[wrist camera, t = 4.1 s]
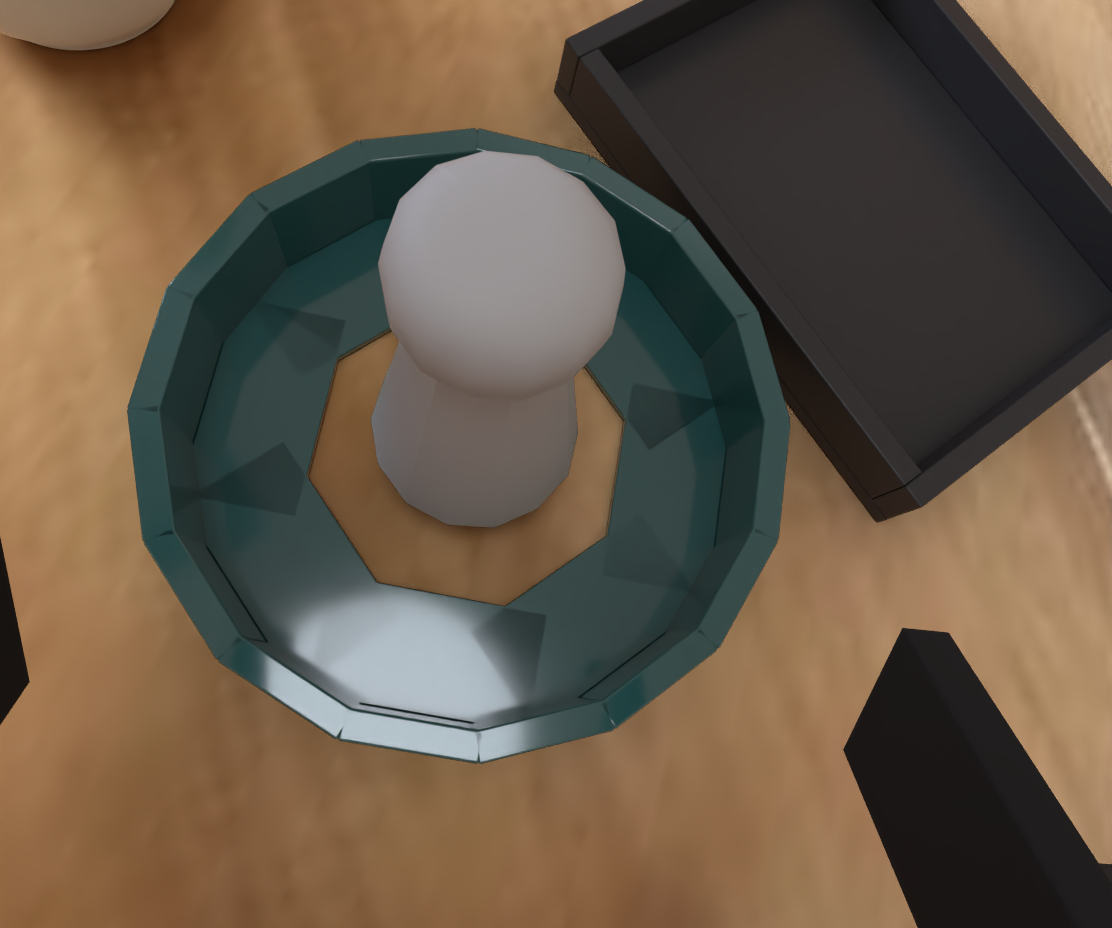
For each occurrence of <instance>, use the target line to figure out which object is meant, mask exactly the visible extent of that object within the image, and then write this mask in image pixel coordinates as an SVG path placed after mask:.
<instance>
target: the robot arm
mask: <svg viewBox="0 0 1112 928" xmlns="http://www.w3.org/2000/svg"><path fill="white" fill-rule="evenodd" d="M29 682H30V681H29V677H28V672H27V667H26V662H25V657H24V652H23V647H22V642H21V637H20V632H19V627H18V622H17V617H16V612H15V608H14V603H13V598H12V593H11V588H10V583H9V578H8V573H7V568H6V563H5V558H4V553H3V548H2V544H1V539H0V725H1V723H2V722H3V720H4V719H5V717H6V716H7V714H8V713H9V711H10V710H11V708H12V707H13V705H14V704H15V702H16V701H17V700H18V698H19V697H20V695H21V694H22V692H23V691H24V689H25V688H26V686H27V685H28V683H29ZM843 750H844V753H845V755H846V758H847V760H848V762H849V765H850V767H851V770H852V772H853V774H854V777H855V779H856V781H857V784H858V786H859V789H860V791H861V793H862V796H863V798H864V801H865V803H866V805H867V808H868V810H869V813H870V815H871V817H872V820H873V822H874V824H875V827H876V829H877V832H878V834H879V836H880V839H881V841H882V844H883V846H884V848H885V851H886V853H887V855H888V858H889V860H890V863H891V865H892V867H893V870H894V872H895V875H896V877H897V879H898V882H899V884H900V887H901V889H902V891H903V894H904V896H905V898H906V901H907V903H908V906H909V908H910V910H911V913H912V915H913V918H914V920H915V922H916V925H917V927H918V928H1112V864H1099V863H1098V862H1097V860H1096V859H1095V857H1094V856H1093V854H1092V853H1091V851H1090V849H1089V848H1088V846H1087V845H1086V843H1085V842H1084V840H1083V839H1082V837H1081V836H1080V834H1079V833H1078V831H1077V829H1076V828H1075V826H1074V825H1073V823H1072V822H1071V820H1070V819H1069V817H1068V816H1067V814H1066V813H1065V811H1064V809H1063V808H1062V806H1061V805H1060V803H1059V802H1058V800H1057V799H1056V797H1055V796H1054V794H1053V793H1052V791H1051V789H1050V788H1049V786H1048V785H1047V783H1046V782H1045V780H1044V779H1043V777H1042V776H1041V774H1040V773H1039V771H1038V769H1037V768H1036V766H1035V765H1034V763H1033V762H1032V760H1031V759H1030V757H1029V756H1028V754H1027V753H1026V751H1025V750H1024V748H1023V746H1022V745H1021V743H1020V742H1019V740H1018V739H1017V737H1016V736H1015V734H1014V733H1013V731H1012V730H1011V728H1010V726H1009V725H1008V723H1007V722H1006V720H1005V719H1004V717H1003V716H1002V714H1001V713H1000V711H999V710H998V708H997V706H996V705H995V703H994V702H993V700H992V699H991V697H990V696H989V694H988V693H987V691H986V690H985V688H984V686H983V685H982V683H981V682H980V680H979V679H978V677H977V676H976V674H975V673H974V671H973V670H972V668H971V666H970V665H969V663H968V662H967V660H966V659H965V657H964V656H963V654H962V653H961V651H960V650H959V648H958V646H957V645H956V643H955V642H954V640H953V639H952V637H951V636H950V634H949V633H947V632H937V631H927V630H917V629H908V628H902V630H901V632H900V634H899V636H898V638H897V640H896V642H895V644H894V647H893V649H892V651H891V653H890V655H889V657H888V659H887V661H886V663H885V665H884V667H883V669H882V671H881V673H880V675H879V677H878V679H877V681H876V684H875V686H874V688H873V690H872V692H871V694H870V696H869V698H868V700H867V702H866V704H865V706H864V708H863V710H862V712H861V714H860V716H859V718H858V720H857V723H856V725H855V727H854V729H853V731H852V733H851V735H850V737H849V739H848V741H847V743H846V745H845V747H844V749H843Z"/></svg>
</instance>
